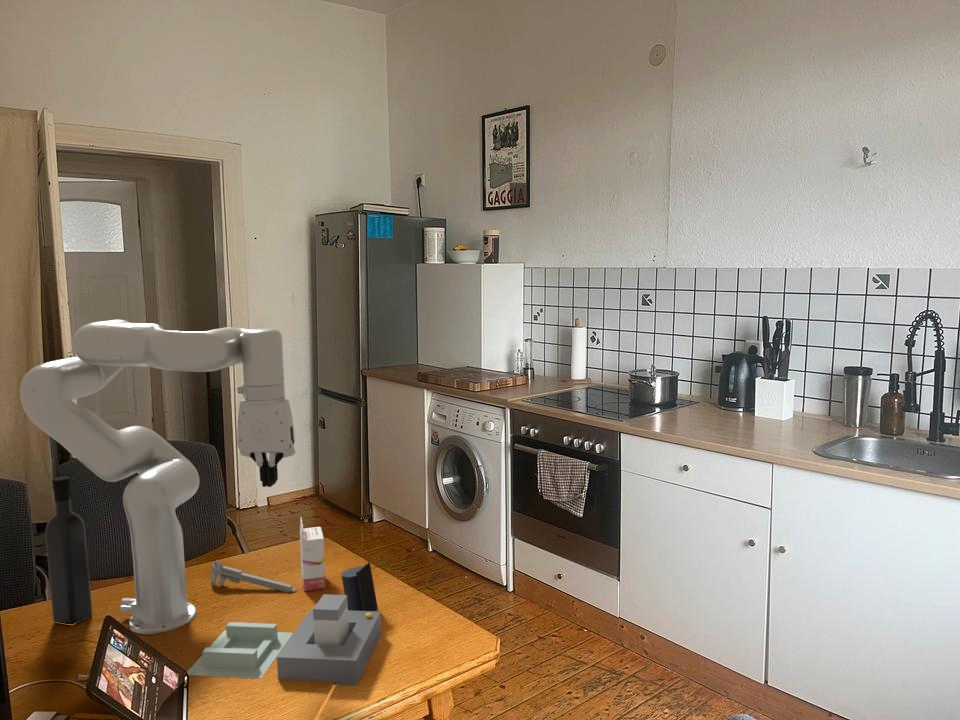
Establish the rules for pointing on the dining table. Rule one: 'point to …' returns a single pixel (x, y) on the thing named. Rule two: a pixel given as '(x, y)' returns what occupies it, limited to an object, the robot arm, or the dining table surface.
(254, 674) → the pale green cradle tray
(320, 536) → the ink cartridge box
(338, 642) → the plug
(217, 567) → the caliper
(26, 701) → the dining table surface
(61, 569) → the wine bottle
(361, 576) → the speaker
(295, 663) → the block
